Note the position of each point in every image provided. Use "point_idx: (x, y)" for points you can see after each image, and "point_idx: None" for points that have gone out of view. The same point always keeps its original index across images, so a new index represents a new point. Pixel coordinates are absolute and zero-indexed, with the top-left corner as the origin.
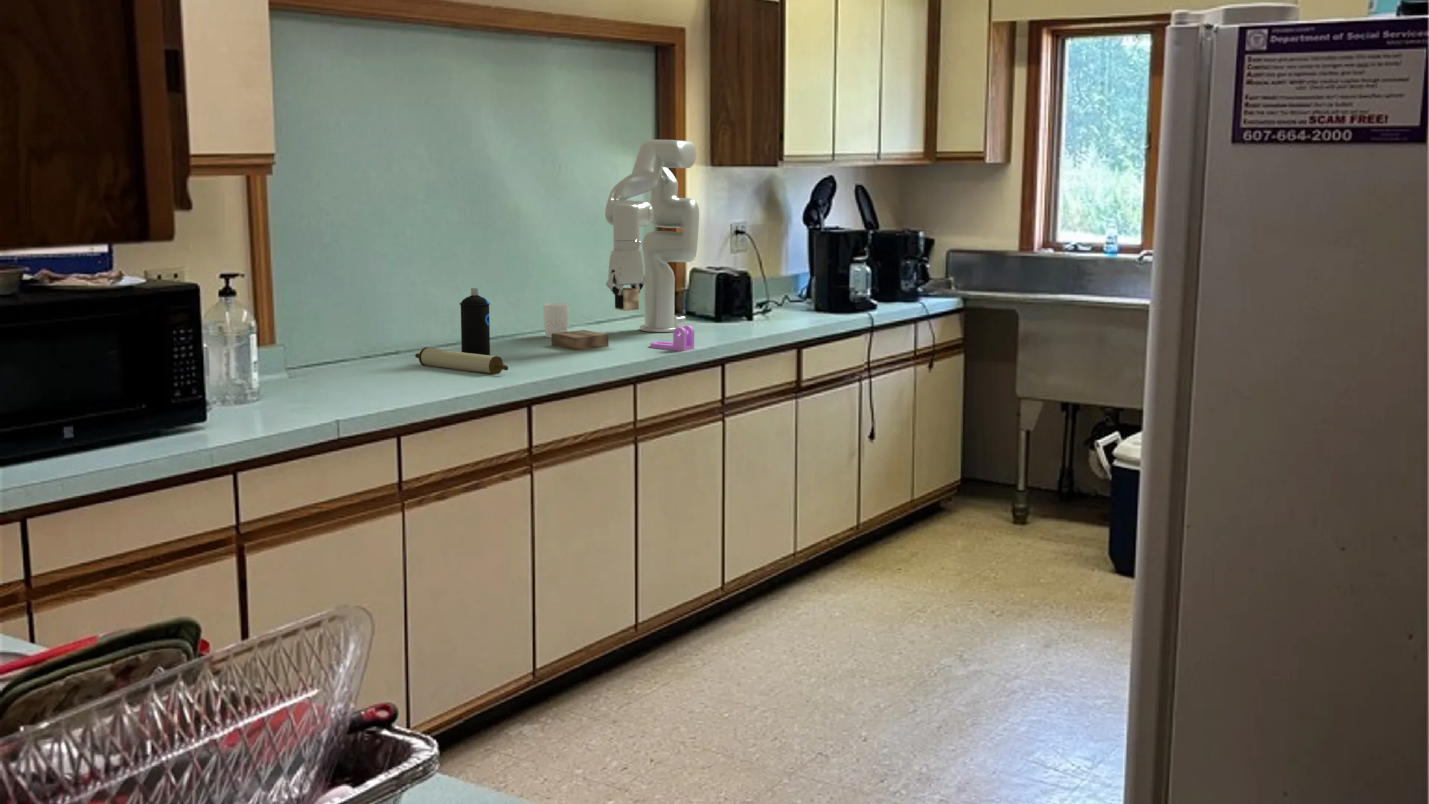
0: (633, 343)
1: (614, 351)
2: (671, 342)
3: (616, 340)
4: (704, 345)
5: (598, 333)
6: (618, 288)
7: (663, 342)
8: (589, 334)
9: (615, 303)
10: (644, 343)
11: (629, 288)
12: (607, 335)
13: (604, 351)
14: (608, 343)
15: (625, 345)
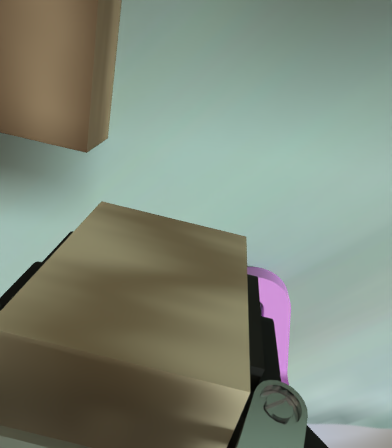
0: (264, 166)
1: (36, 237)
2: (285, 335)
3: (305, 22)
4: (376, 387)
5: (73, 76)
6: (58, 345)
7: (265, 315)
8: (3, 63)
9: (32, 271)
10: (294, 204)
11: (172, 442)
12: (81, 149)
13: (4, 209)
14: (102, 141)
15: (188, 176)
